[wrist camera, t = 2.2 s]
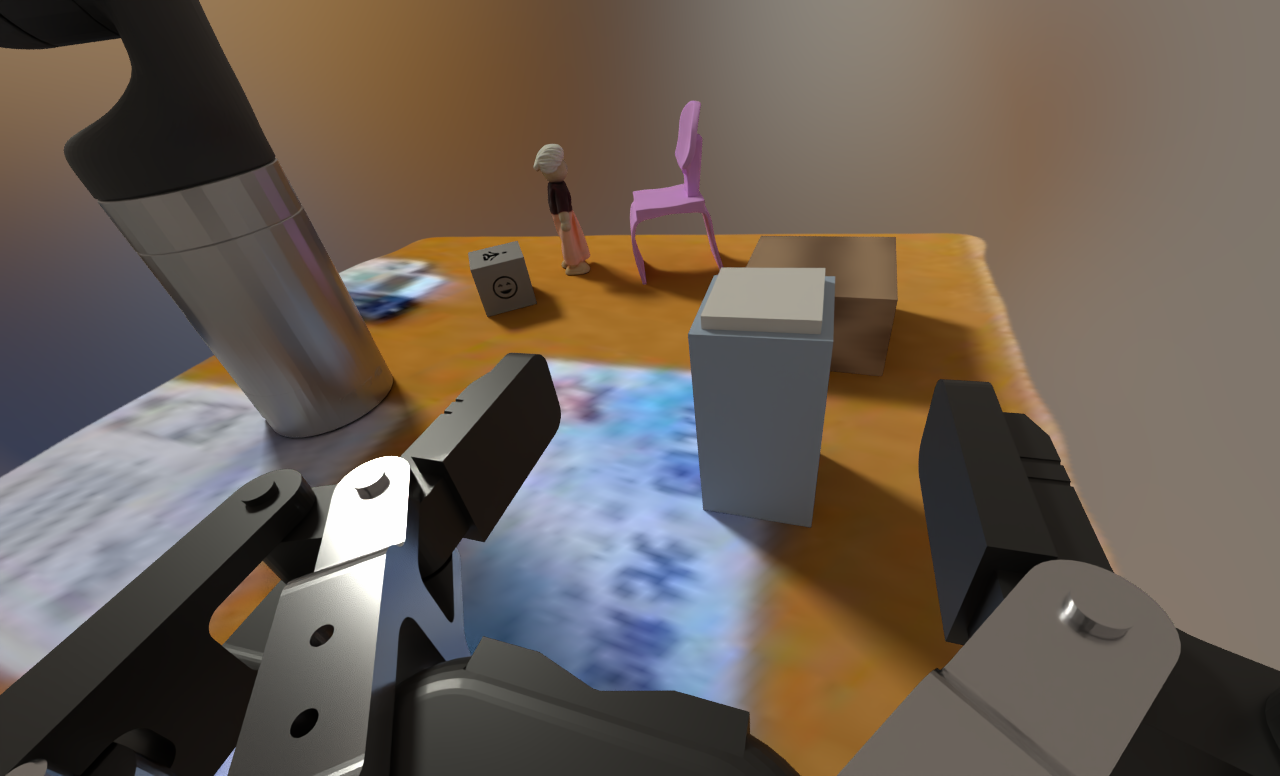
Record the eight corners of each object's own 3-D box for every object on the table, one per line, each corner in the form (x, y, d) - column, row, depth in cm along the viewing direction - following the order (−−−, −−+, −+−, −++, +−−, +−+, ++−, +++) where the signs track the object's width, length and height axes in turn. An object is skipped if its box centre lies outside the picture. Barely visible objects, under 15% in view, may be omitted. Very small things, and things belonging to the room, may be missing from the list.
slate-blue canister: (703, 509, 27) (687, 321, 20) (721, 440, 31) (713, 263, 24) (811, 527, 25) (835, 327, 18) (815, 451, 29) (836, 263, 22)
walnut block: (735, 363, 37) (733, 291, 34) (760, 301, 44) (761, 236, 41) (881, 379, 34) (897, 299, 30) (882, 307, 41) (895, 237, 37)
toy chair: (635, 257, 56) (613, 107, 47) (712, 246, 55) (705, 92, 46) (638, 289, 49) (614, 121, 40) (726, 277, 49) (722, 104, 40)
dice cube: (484, 297, 53) (468, 252, 50) (530, 285, 54) (517, 240, 51) (487, 317, 49) (470, 270, 46) (537, 304, 50) (523, 257, 47)
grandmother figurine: (603, 271, 54) (580, 144, 46) (571, 282, 53) (541, 153, 45) (579, 251, 59) (554, 135, 52) (549, 260, 58) (519, 143, 51)
